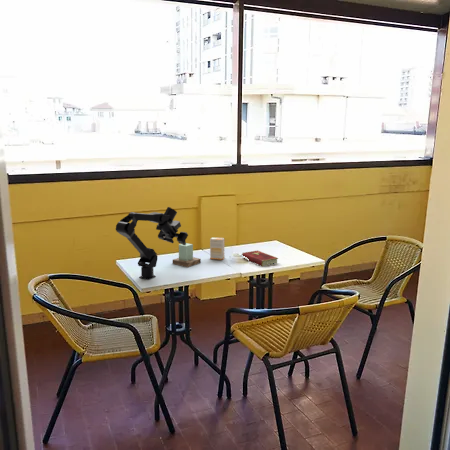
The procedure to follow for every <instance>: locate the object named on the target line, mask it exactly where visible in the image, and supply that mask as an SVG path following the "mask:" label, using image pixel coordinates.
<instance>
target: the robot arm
mask: <svg viewBox="0 0 450 450" xmlns="http://www.w3.org/2000/svg"><path fill="white" fill-rule="evenodd" d="M177 213H178V212H177V210H175V209H174V208H172V207H170V206H167V208H166V210H165V211H164V212H163V213H162V212H158V211H157V212H156V211H153V212H150V213H141V212H132V211H131V212H129V213H128V214H127V215H126V216H125V217H123V218H121V219H120V221H118V222H117V223H116V225H115V231H116V233H118V234H119V235H121V236H123V237H125V238H126V239H127V240H128V241H129V243H130V244H131V245H132V246H133V247H134V248H135V249H136V251H137V252H138V253H139V258H140V259H139V260H138V262H137V266H139V267H141V269H140V271H141V275H140V276H139V277H138V278H139V279H144V280H148V281H149V280H151V279H153V278H156V276H157V275H154V268H156V267H157V263H158V253H157V252H156V251H155V249H154V248H150V247H147V246H146V244H144V242H143V241H142V240H141V238H140V237H139V236H138V235H137V234H136V233H135V229H136V227H137V223H138V222H139V221H143V222H144V221H146V222H151V223H155V224H156V226H155V230H158V231H159V232H158V234H157V238H158V239H159V240H162V241H164V242H168V243H171V244H174V238H176V241H177V242H178V243H179V245H180V244H182V245H186V243H187V242H186V240H187V239H188V236H189V234H188V233H187V232H185V231H180V232H178V231H179V229H180V228H181V227H182V224H181V221H179V220H174V219H175V217H176V216H177Z"/></svg>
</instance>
